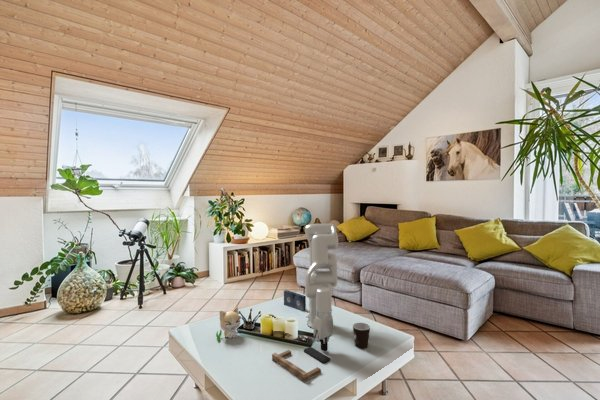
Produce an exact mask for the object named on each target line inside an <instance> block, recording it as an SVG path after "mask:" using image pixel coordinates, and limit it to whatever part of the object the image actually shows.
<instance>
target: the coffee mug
mask: <svg viewBox="0 0 600 400" xmlns="http://www.w3.org/2000/svg"><path fill="white" fill-rule="evenodd" d="M352 330H353V331H352V332H353V338H354V339H353V340H354V347H356V348H357V349H362V350H364V349H367V348H368V346H369V339H370V331H371V326H370V325H369V324H368V323H365V322H356V323H354V324H352Z"/></svg>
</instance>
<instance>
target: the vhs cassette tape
mask: <svg viewBox="0 0 600 400" xmlns="http://www.w3.org/2000/svg"><path fill="white" fill-rule="evenodd" d="M306 298H307V296H306V295H305V294H301V293H297V292H294V291H290V290H288V289H285V290H283V305H284V306H286V307H290V308H292V309H295V310H298V311H300V312H305V311H306V310H307V309H306V307H307V305H306Z"/></svg>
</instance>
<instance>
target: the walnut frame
mask: <svg viewBox="0 0 600 400" xmlns="http://www.w3.org/2000/svg"><path fill="white" fill-rule="evenodd" d="M291 355H292V351H291V350H289V349H287V350H285V351H283V352H281V353H279V354H278V353H277V352H274V353H272V354H271V356H272V357H271V360H272V362H274V363H275V364H277V365H278V366H279V367H281V368H283V369H284V370H286V371H287V372H289V373H290V374H292V375H293V376H294V377H295V378H298V379H299V380H300V381H302V382H303V383H305V382H307V381H309V380H310V379H312V378H314V377H315V376H317V375H319V374H321V372H322V370H321V368H320V367H318V366H317V367H316V368H313V369H311V370H310V371H307V372H306V371H305V370H304V369H302V368H300V367H299V366H297V365H296V364H294V363H293V362H291V361H289V360H288V359H286V357H289V356H291Z"/></svg>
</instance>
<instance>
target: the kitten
mask: <svg viewBox="0 0 600 400" xmlns="http://www.w3.org/2000/svg"><path fill="white" fill-rule="evenodd" d="M219 325H220V326H219V327H220V330H219V331H218V330H217V331H216V334H215V337H216V340H217V341H221V337H222V331H223V335H224V337H226V338H229V339H231V340H232V339H234V338H235V337H236V335H237V329H238V328H239V327H240V325H241V318H240V315H239V307H238V306H235V308H234V309H233V310H229V311H223V310H219ZM218 332H219V333H218Z"/></svg>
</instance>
